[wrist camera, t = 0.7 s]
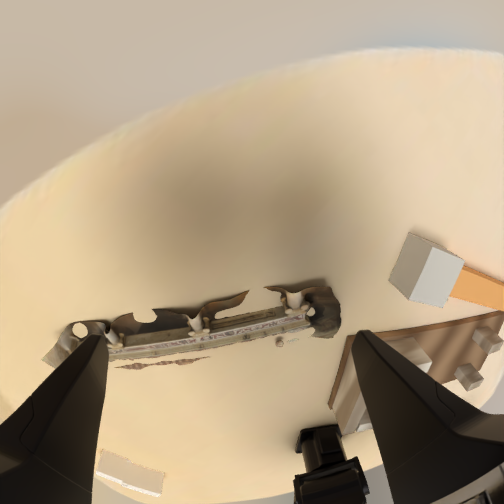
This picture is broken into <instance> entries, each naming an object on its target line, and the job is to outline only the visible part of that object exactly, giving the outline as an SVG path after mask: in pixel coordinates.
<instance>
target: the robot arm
mask: <svg viewBox="0 0 504 504" xmlns="http://www.w3.org/2000/svg"><path fill="white" fill-rule="evenodd" d="M351 352H352V357H353V361H354V365H355V370H356V374H357V379H358V383H359V387H360V390H361V393H362V396H363V399H364V402H365V405H366V408H367V411H368V414H369V418H370V421H371V424H372V427H373V430H374V434H375V437H376V440H377V443H378V447H379V450H380V454H381V457H382V461H383V464H384V467H385V471H386V474H387V479H388V482H389V486H390V490H391V494H392V498H393V501H394V504H504V414H499V415H498V414H497V415H496V414H495V415H494V414H487V413H485V412H482V411H480V410H479V409H477V408H476V407H474V406H473V405H471V404H469V403H468V402H466V401H464V400H463V399H461V398H460V397H458V396H457V395H455V394H454V393H452V392H451V391H449V390H448V389H447V388H445V387H444V386H443V385H441V384H440V383H439V382H437V381H435V379H433V378H432V377H431V376H429V375H428V374H427V373H425V372H424V371H423V370H421V369H420V368H419V367H418V366H416V365H415V364H414V363H412V362H411V361H410V360H408V359H407V358H406V357H404V356H403V355H402V354H400V353H399V352H398V351H396V350H395V349H394V348H392V347H391V346H390V345H389V344H387V343H386V342H385V341H383V340H382V339H381V338H379V337H378V336H377V335H375V334H374V333H373V332H371V331H370V330H360V331H358V332H357V334H356V336H355V339H354V341H353V343H352V346H351ZM108 361H109V350H108V347H107V345H106V342H105V339H104V337H103V335H101V334H90V335H89V336H88V337H87V338H86V339H85V340H84V341H83V342H82V343H81V344H80V345H79V346H78V347H77V348H76V349H75V350H74V351H73V352H72V353H71V354H70V355H69V356H68V357H67V358H66V359H65V360H64V361H63V362H62V363H61V364H60V365H59V366H58V367H57V368H56V369H55V370H54V371H53V372H52V373H51V374H50V375H49V376H48V377H47V378H46V379H45V380H44V381H43V383H42V384H41V385H40V386H39V387H38V388H37V389H36V390H35V391H34V392H33V393H32V394H31V396H29V397H28V398H27V399H26V401H25V402H24V403H23V404H22V405H21V406H20V407H19V408H18V409H17V410H16V411H15V412H14V413H13V414H12V415H11V416H9V417H8V418H7V419H6V420H5V421H4V422H3V423H2V424H1V425H0V504H91V503H92V486H93V474H94V464H95V456H96V448H97V440H98V433H99V427H100V421H101V415H102V409H103V404H104V398H105V392H106V381H107V370H108ZM341 437H342V434H341V431H340V428H339V425H334V426H328V427H321V428H313V429H305V430H302V431H301V432H300V435H299V439H298V442H297V446H296V449H295V452H296V453H303V458H304V462H305V467H306V472H307V473H304V474H300V475H299V474H298V475H295V479H294V480H293V483H294V504H367V502H366V497H365V495H367V494H369V493H370V492H369V489H368V485H367V481H366V478H365V476H364V473H363V470H362V467H361V465H360V462H359V459H358V457H357V456H356V457H353V458H352V459H349V460H347V457H346V454H345V451H344V448H343V445H342V442H341Z"/></svg>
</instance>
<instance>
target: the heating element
mask: <svg viewBox="0 0 504 504" xmlns="http://www.w3.org/2000/svg"><path fill="white" fill-rule="evenodd" d="M264 288H267V289H268V290H271V291H277V292H280V293H281V294H282V295H281V298H280V299H281V302H282V303H283V306H281V307H275V308H271V309H268V310H261V311H257V312H252V313H246V314H242V315H236V316H233V317H225V318H222V319H215V318H214V317H215V314H216V313H217V312H219V311H222V310H225V309H229V308H233V307H236V306H238V305H240V304H241V303H242V302H243V300H244V298H245V296H246V294H247V293H248V292H249V291H246V292H244V293H242V294H240V295H238V296H236V297H234V298H232V299H229V300H225V301H217V302H211V303H209V304H206V305H205V306H204V307H203V308H202V309H201V311H200V312H199V314H198V315H197V316H196V318H194V319H190V318H189V317H188V316H187V315H186V314H175V313H173V312H170V311H167V310H161V309H152V310H153V311H154V312H155V314H156V315H157V318H156V320H155V321H154V322H151V323H141V322H137V321H136V320H135V319H134V316H133V313H130V314H127V315H124V316H122V317H120V318H118V319H117V320H115V321H114V322H113V323H112V324H111V325H110V328H111V329H110V332H108V330H107V329H106V326H105V324H104V323H101V322H90V321H79V322H80V323H82V324H84V325H85V326H86V327H87V330H88V334H87V336H85V337H83V338H78V337H77V336H75V335H74V334H73V332H72V328H73V326H74V324H75V323H79V322H74V323H72V324H70V325H69V326H68V327H67V328H66V329H65V330H64V331H63V333H62V334H61V336H60V338H59V339H58V341H57V343H56V344H55V346H54V347H53V348H52V349H51V350H50V351H49V352H48V353H47V354H46V355H45V356H44V357H43V358H42V361H44V362H45V363H47V364H49V365H50V366H52V367H54V368H55V369H56V368H57V367H58V366H59V365H60V364H61V363H62V362H63V361H64V360H65V359H66V358H67V357H68V356H69V355H70V354H71V353H72V352H73V351H74V350H75V349H76V348H77V347H78V346H79V345H80V344H81V343H82V342H83V341H84V340H85V339H86V338H87V337H88V336H89V335H90V334H101V335H103V337H104V339H105V342H106V345H107V347H108V350H109V361H110V362H111V361H114V360H115V359H119V360H120V359H122V360H126V359H129V360H134V359H140V358H157V357H160V356H165V355H171V354H176V353H184V352H189V351H201V350H206V349H211V348H217V347H220V346H225V345H230V344H234V343H237V342H247V341H252V340H255V339H257V338H264V337H267V336H270V335H276V334H279V333H286V332H291V333H293V332H298V331H301V330H304V329H307V328H309V327H314V328H315V332H314V334H313V335H311V336H309V337H318V338H333V336H334V335H335V334H336V333H337V332H338V330H339V328H340V326H341V317H340V313H341V308H340V303H339V302H338V300H337V299H336V298H335V296H334V295H333V292H332V288H331V287H310V288H306V289H304V290H302V291H300V292H298V293H289V292H287V291H286V290H285V289H283V288H280V287H264ZM311 307H313V308H314V309H315V314H314V315H313V316H308V315H306V314H307V312H308V310H309V309H310V308H311ZM297 340H299V339H292V340H290V341H288V342H294V341H297ZM283 344H284V343H283V341H277V342H276V346H277V347H282V346H283ZM203 358H208V357H203ZM199 359H202V358H196V359H182V360H176V361H161V362H158V363H154V364H141V363H134V364H132V365H125V366H122V367H115V368H125V369H142V368H144V367H147V366H150V365H167V364H171V363H176V364H178V365H185V364H190V363H193V362H194V361H196V360H199Z"/></svg>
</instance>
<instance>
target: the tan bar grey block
mask: <svg viewBox="0 0 504 504" xmlns="http://www.w3.org/2000/svg"><path fill="white" fill-rule="evenodd" d="M464 263H465V260H463V259H462V258H460V257H459V256H457V255H455V254H454V253H452V252H451V251H449V250H447V249H446V248H444V247H442V246H440V245H438V244H436V243H433V242H431V241H428V240H426V239H424V238H421V237H419V236H416V235H414V234H411V233H408V236H407V238H406V241H405V243H404V246H403V248H402V251H401V253H400V255H399V258H398V260H397V262H396V265H395V267H394V269H393V271H392V274H391V276H390V278H389V281H390V282H391V283H392V284H393V285H394V286H395V287H396V288H397V289H398V290H399V291H400V292H401V293H402V294H403V295H404V296H405V297H406V298H407V299H408V300H410V301H414V302H419V303H423V304H427V305H432V306H436V307H441V308H443V307H444V305H445V303H446V301H447V299H448V297H449V296H451V297H454V298H458V299H461V300H465V301H469V302H472V303H476V304H479V305H483V306H486V307H490V308H493V309H497V310H500V311H504V283H503V282H500V281H498V280H496V279H494V278H491V277H489V276H487V275H485V274H482V273H480V272H478V271H475V270H473V269H471V268H468V267H466V266H464Z"/></svg>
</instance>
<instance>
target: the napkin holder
mask: <svg viewBox="0 0 504 504" xmlns="http://www.w3.org/2000/svg"><path fill="white" fill-rule="evenodd" d="M96 475H99V476H101V477H104V478H106V479H109V480H112V481H114V482H117V483H120V484H121V486H123V487H126V488H129V489H132V490H135V491H139V492H142V493H145V494H149V495H152V496H156V497H159V496H160V495H161V494H162V486H163V478H164V472H161V471H157V470H154V469H151V468H147V467H144V466H141V465H138V464H135V463H132V462H131V460H128V458H125V457H122V456H120V455H117V454H114V453H112V452H109V451H107V450H105V449H103V450H102V453H101V457H100V460H99V463H98V467H97V470H96Z"/></svg>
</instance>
